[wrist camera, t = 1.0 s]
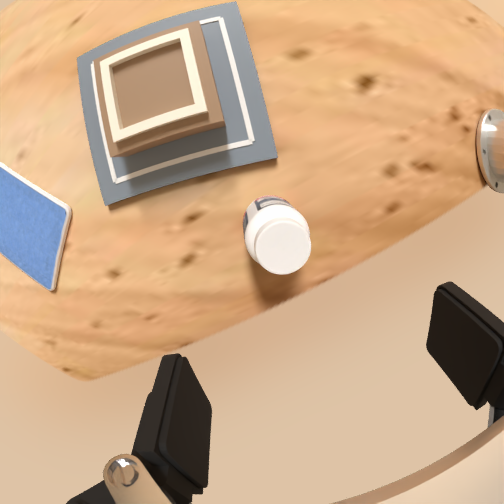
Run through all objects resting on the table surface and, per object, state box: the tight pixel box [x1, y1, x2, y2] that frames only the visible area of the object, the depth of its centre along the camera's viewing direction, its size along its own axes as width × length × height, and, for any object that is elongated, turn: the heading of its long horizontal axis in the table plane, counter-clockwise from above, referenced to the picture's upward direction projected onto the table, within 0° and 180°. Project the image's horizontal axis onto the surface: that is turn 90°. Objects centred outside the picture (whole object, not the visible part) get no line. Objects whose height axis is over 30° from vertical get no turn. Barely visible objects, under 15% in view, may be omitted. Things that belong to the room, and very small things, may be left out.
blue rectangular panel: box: [0, 162, 72, 291], centre depth 25 cm, size 19×13×1 cm, turn 61°
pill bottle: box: [243, 195, 311, 275], centre depth 23 cm, size 5×5×9 cm
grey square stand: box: [77, 2, 278, 206], centre depth 20 cm, size 18×18×6 cm
